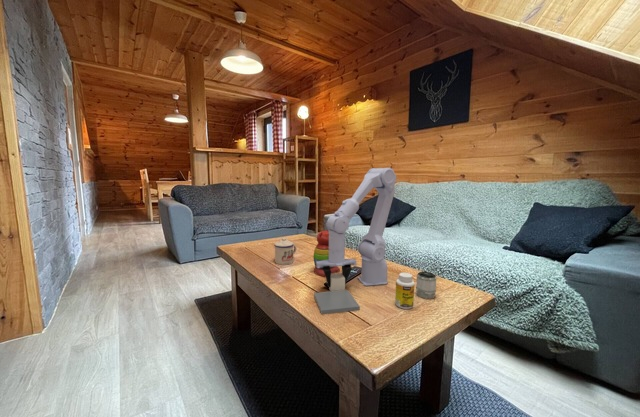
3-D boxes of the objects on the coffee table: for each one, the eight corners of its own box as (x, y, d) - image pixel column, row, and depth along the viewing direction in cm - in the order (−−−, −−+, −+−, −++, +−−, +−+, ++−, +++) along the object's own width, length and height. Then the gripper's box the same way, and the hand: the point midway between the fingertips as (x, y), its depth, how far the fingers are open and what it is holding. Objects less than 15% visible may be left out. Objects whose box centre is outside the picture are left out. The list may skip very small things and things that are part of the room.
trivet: (347, 293, 92) (347, 289, 92) (359, 310, 80) (359, 306, 80) (314, 296, 90) (314, 292, 89) (321, 314, 78) (321, 310, 78)
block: (340, 285, 98) (341, 272, 98) (344, 291, 93) (345, 278, 93) (327, 286, 97) (328, 273, 97) (331, 292, 92) (331, 279, 92)
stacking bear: (327, 278, 106) (327, 235, 103) (307, 272, 112) (307, 231, 109) (341, 270, 114) (342, 230, 112) (323, 265, 120) (323, 227, 118)
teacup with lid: (282, 266, 119) (282, 241, 117) (270, 262, 125) (270, 238, 123) (302, 260, 127) (302, 237, 126) (289, 256, 134) (289, 234, 132)
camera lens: (430, 301, 86) (431, 278, 85) (412, 295, 91) (413, 273, 90) (438, 295, 91) (439, 273, 90) (420, 289, 95) (422, 268, 94)
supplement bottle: (400, 310, 80) (402, 278, 79) (391, 302, 86) (393, 272, 84) (417, 308, 82) (418, 277, 80) (407, 300, 87) (408, 270, 86)
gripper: (319, 253, 88) (319, 291, 90) (359, 251, 91) (359, 288, 93) (315, 247, 95) (315, 283, 97) (353, 245, 98) (352, 280, 100)
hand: (336, 285), depth 95 cm, fingers closed on block, 5 cm apart
